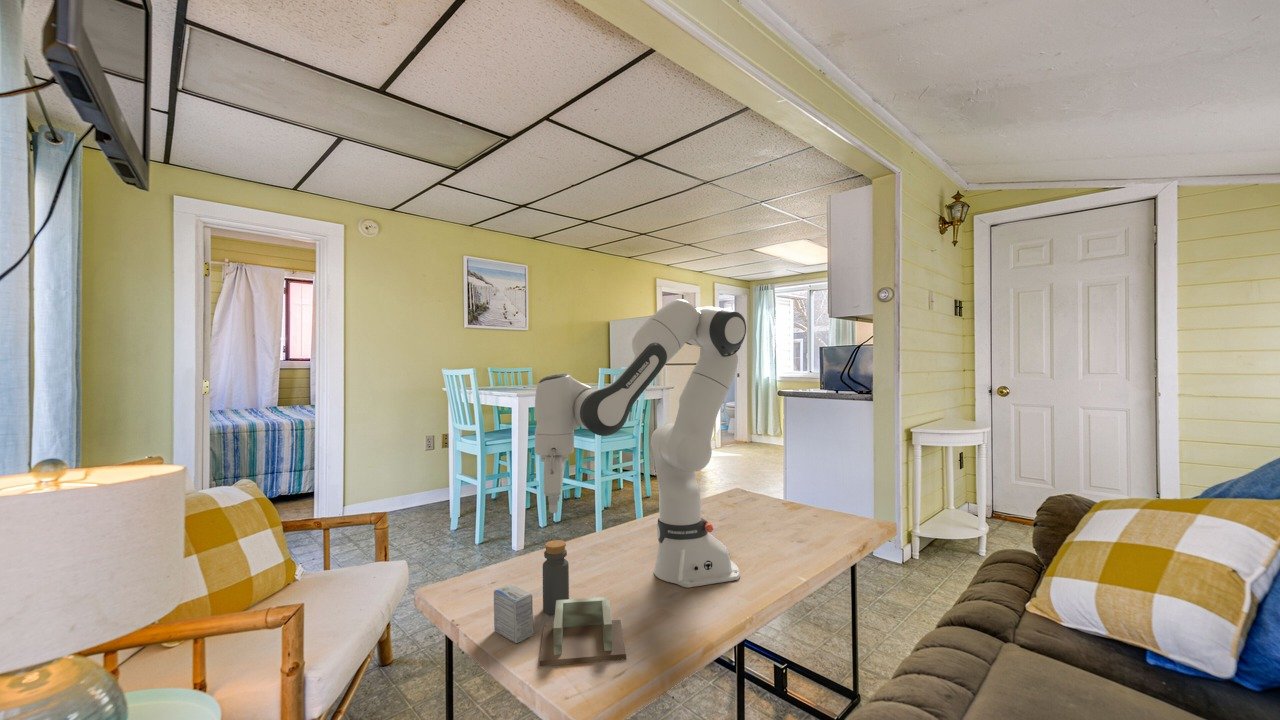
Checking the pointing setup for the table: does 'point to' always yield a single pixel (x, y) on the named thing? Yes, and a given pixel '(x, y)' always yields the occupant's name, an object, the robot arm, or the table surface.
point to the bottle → (555, 576)
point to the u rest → (582, 633)
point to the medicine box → (513, 613)
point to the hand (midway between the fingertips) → (554, 506)
